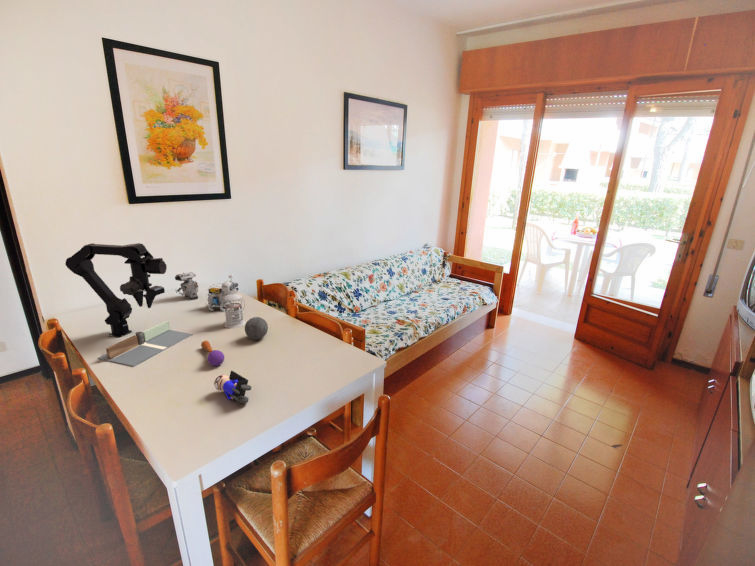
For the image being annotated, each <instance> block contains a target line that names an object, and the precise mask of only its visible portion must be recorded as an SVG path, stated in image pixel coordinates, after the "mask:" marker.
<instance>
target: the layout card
mask: <svg viewBox="0 0 755 566" xmlns="http://www.w3.org/2000/svg"><path fill="white" fill-rule="evenodd" d="M191 336H193V333H189V332H183V331H178V330H172V329H170V330H168V331H166V332H164V333H162V334H160V335H158V336H156V337H154V338H152V339H150V340H148V341H144V344H142V345H139V346H137V347H135V348H133V349H131V350H129V351H127V352H125V353H123V354H121V355H119V356H116V357H114V358H113V359H108V357H107V353H105V354H103V355H101V356H98V357H97V359H98V360H102V361H106V362H110V363H115V364H118V365H125V366H130V367H133V368H134V367H136V366H138V365H140V364H142V363H143V362H146V361H147V360H149V359H151V358H153V357H154V356H157V355H158V354H160V353H162V352H163V351H165V350H167V349H170V348H171V347H172V346H175V345H177V344H178V343H180V342H182V341H183V340H185V339H188V338H189V337H191Z"/></svg>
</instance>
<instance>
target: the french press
mask: <svg viewBox="0 0 755 566" xmlns="http://www.w3.org/2000/svg"><path fill="white" fill-rule="evenodd" d="M228 278H230V281H231V285H232V282H233V280H232V279H233V278H234V275H233V274H229V276H228ZM224 300H226V301H232V303H230V304H227V305H226V306H225V308H224V309H225V311H224V313H225V323H224V327H225V328H229V329H235V328H236V329H237V328H240V327H243V326H245V324H246V323H247V321H245V320H244V315H243V311H244V309H245V305H246V304H245V300H244V298H242V295H241V294H237V293H234V294H233V291H232V294H229V295H227V296H225V297H224ZM235 301H236V302H235ZM237 301H238V302H237ZM240 302H241V303H240Z"/></svg>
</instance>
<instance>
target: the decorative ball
mask: <svg viewBox="0 0 755 566" xmlns="http://www.w3.org/2000/svg"><path fill="white" fill-rule="evenodd" d="M268 331H269V325H268V323H267V321H266V319H264V318H262V317H260V316H253V317H251V318H249V319H248V320H247V321H246V323H245V324H244V332H245V335H246V336H247V337H248V338H249V339H251V340H261V339H262V338H264V337H265V336H266V335H267V333H268Z"/></svg>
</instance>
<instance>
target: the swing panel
mask: <svg viewBox="0 0 755 566" xmlns="http://www.w3.org/2000/svg"><path fill="white" fill-rule="evenodd" d="M168 330H171V329H170V322H169V320H165V321H162V322H160V323H158V324H156V325H154V326H152V327H150V328H147V329H145V330H143V331H142V332H143V337H144V341H148V340H150V339H152V338H154V337H156V336H158V335H160V334H162V333H164V332H166V331H168Z"/></svg>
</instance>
